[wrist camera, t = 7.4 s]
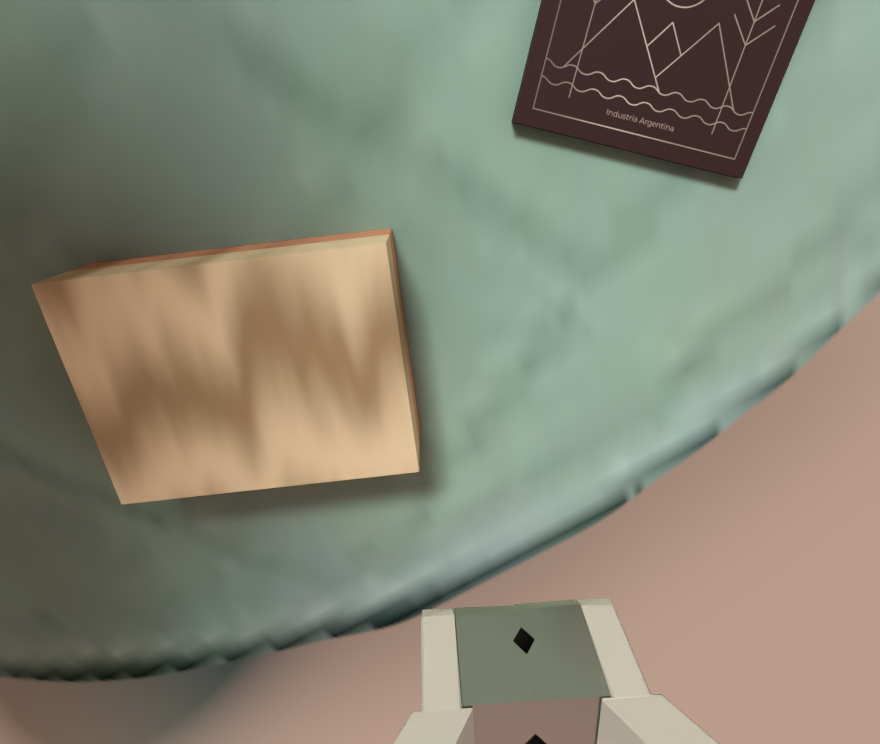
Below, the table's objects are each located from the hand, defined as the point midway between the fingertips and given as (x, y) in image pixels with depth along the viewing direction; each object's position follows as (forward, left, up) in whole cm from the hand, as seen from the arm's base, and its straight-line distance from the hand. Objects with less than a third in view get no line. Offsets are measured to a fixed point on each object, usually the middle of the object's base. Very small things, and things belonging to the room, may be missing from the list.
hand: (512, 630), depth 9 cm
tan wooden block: (0, -2, -14) cm, 14 cm away
